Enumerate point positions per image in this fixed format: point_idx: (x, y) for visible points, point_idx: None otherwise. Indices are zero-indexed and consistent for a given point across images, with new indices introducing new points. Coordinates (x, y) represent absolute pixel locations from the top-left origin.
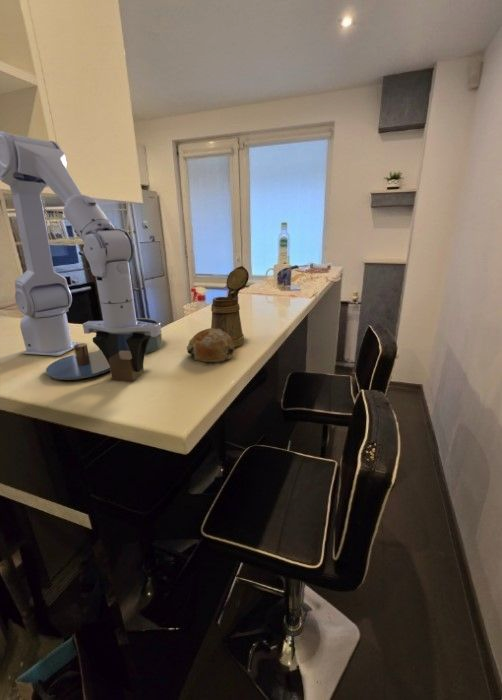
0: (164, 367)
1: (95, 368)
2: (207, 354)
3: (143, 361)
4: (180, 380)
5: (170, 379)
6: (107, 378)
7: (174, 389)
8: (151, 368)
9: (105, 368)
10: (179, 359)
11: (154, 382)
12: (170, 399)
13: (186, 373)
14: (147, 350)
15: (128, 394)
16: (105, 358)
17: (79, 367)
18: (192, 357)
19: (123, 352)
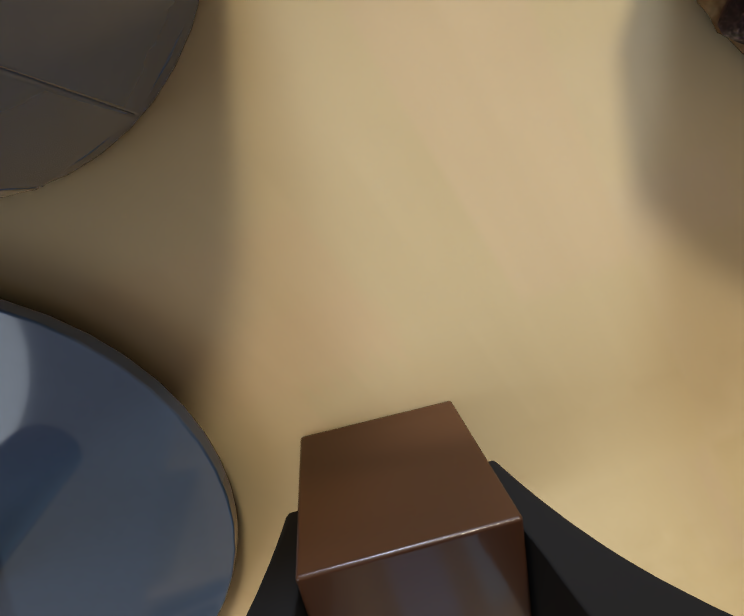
0: (548, 282)
1: (142, 573)
2: None
3: (523, 488)
4: (720, 403)
5: (661, 415)
6: None
7: (720, 490)
8: (465, 333)
9: (215, 547)
10: (595, 82)
11: (590, 477)
12: (730, 559)
13: (729, 310)
14: (186, 18)
15: None
16: (8, 421)
17: (6, 612)
18: (723, 29)
19: (365, 601)
